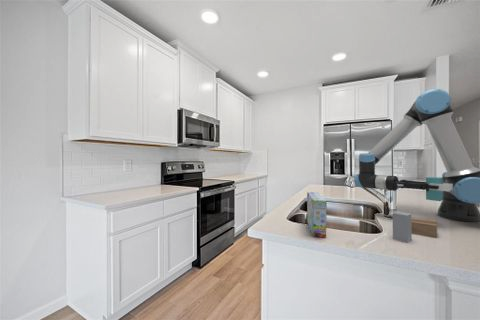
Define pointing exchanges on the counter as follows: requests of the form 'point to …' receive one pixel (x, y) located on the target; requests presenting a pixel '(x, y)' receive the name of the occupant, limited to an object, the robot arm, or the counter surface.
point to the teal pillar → (434, 194)
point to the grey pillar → (402, 226)
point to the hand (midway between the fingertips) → (451, 187)
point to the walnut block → (424, 227)
